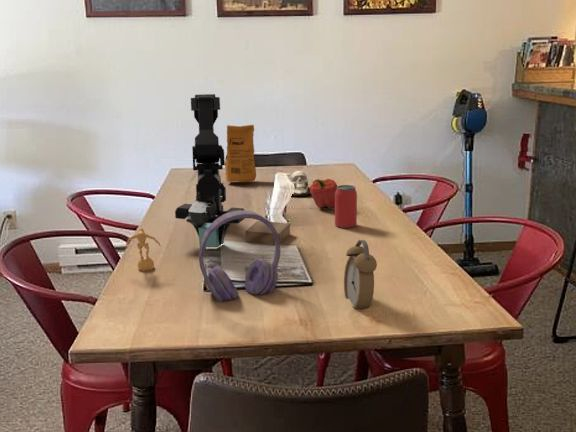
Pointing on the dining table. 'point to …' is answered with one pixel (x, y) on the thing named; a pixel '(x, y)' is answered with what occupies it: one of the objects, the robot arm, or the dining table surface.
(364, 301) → the alarm clock
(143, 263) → the figurine
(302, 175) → the skull
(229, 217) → the headphones
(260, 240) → the walnut block
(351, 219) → the beer can
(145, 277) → the dining table surface
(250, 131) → the coffee package
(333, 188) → the vegetable
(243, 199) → the dining table surface
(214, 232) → the teal block
